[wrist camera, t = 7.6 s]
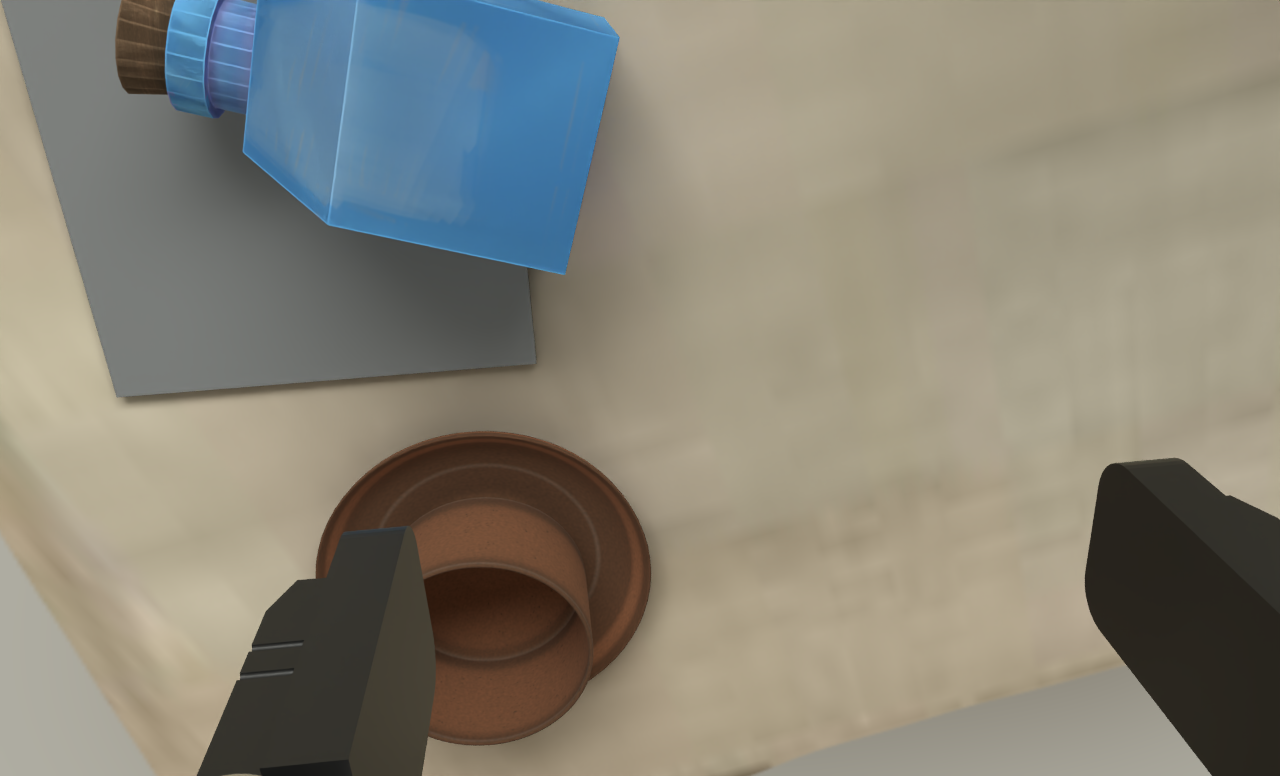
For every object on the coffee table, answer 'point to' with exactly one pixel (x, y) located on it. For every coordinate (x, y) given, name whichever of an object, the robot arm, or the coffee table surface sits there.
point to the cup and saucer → (508, 573)
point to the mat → (234, 243)
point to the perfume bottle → (397, 108)
